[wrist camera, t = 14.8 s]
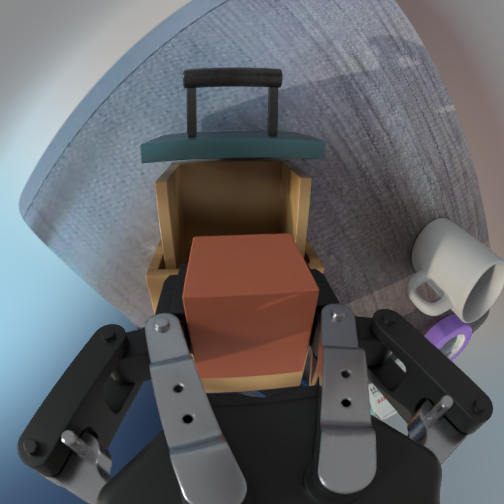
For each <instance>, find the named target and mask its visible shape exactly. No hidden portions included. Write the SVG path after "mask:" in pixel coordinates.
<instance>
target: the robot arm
mask: <svg viewBox="0 0 504 504" xmlns="http://www.w3.org/2000/svg"><path fill="white" fill-rule="evenodd" d="M304 260H305V259H304ZM305 262H306V264H307V266H308V268H309V270H310V272H311V274H312V276H313V278H314V280H315V282H316V284H317V286H318V288H319V295H318V300H317V306H316V311H315V316H314V321H313V326H312V331H311V336H310V341H309V345H308V347H309V346H311V347H312V350H313V351H312V355H311V366H310V379H309V386H306V387H299V388H292V389H289V390H286V391H283V392H280V393H277V394H274V395H271V396H268V397H265V398H259V397H251V396H244V395H237V394H214V395H213V394H212V395H206V392H205V390H204V387H203V384H202V382H201V379H200V376H199V374H198V371H197V368H196V365H195V363H194V360H193V357H192V355H190V354H193V352H192V347H191V342H190V337H189V332H188V327H187V321H186V316H185V310H184V305H183V299H182V295H183V290H184V284H185V278H186V273H187V267H188V264H180V268H179V272H178V275H169V276H168V278H167V279H166V280H165V281H164V283H163V286H162V290H161V294H160V297H159V301H158V305H157V309H156V312H155V315H154V316H152V317H150V318H149V319H148V320H147V321H146V323H145V327H144V328H142V329H139V330H136V331H131V332H127V333H125V330H124V328H122V327H121V326H119V325H116V324H109V325H105V326H103V327H101V328H100V329H98V330H97V331H96V332H95V333H94V335H93V336H92V337H91V339H90V340H89V341H88V342H87V344H86V345H85V346H84V347H83V349H82V350H81V351H80V352H79V354H78V355H77V356H76V358H75V359H74V360H73V362H72V363H71V364H70V366H69V367H68V368H67V370H66V371H65V372H64V374H63V375H62V376H61V378H60V379H59V380H58V382H57V383H56V385H55V386H54V387H53V389H52V390H51V392H50V393H49V395H48V396H47V397H46V399H45V400H44V402H43V403H42V405H41V406H40V407H39V409H38V410H37V412H36V413H35V415H34V416H33V418H32V419H31V421H30V422H29V424H28V426H27V427H26V429H25V430H24V432H23V433H22V435H21V437H20V438H19V441H18V445H17V450H18V455H19V457H20V459H21V460H22V461H23V462H24V463H25V464H26V465H28V466H29V467H31V468H32V469H34V470H35V471H37V472H38V473H39V474H40V475H41V476H43V477H45V478H46V479H48V480H50V481H52V482H54V483H55V484H57V485H59V486H61V487H64V488H65V489H67V490H68V491H70V492H72V493H73V494H75V495H76V496H78V497H79V498H81V499H83V500H84V501H86V502H87V503H89V504H440V487H441V479H442V469H441V464H442V463H443V462H444V461H445V460H446V459H447V458H448V457H449V456H450V455H451V454H452V453H453V452H454V450H455V449H456V448H457V447H458V446H459V445H460V444H461V443H462V442H463V441H465V440H466V439H467V438H468V437H469V436H471V435H472V434H473V433H474V432H475V431H476V430H477V429H479V428H480V427H481V426H482V425H483V424H484V423H485V422H486V421H487V420H488V419H489V418H490V417H491V415H492V412H493V406H492V402H491V400H490V398H489V397H488V396H487V395H486V394H485V393H484V392H483V391H482V390H481V389H480V388H479V387H478V386H477V385H476V384H475V383H474V382H473V381H472V380H471V379H470V378H469V377H468V376H467V375H466V374H465V373H464V372H462V371H461V370H460V369H459V368H458V367H457V366H456V365H455V364H454V363H453V362H452V361H451V360H450V359H449V358H448V357H447V356H445V355H444V354H443V353H442V352H441V351H440V350H439V349H438V348H437V347H436V346H434V345H433V344H432V343H431V342H430V341H429V340H428V339H427V338H426V337H424V336H423V335H422V334H421V333H420V332H419V331H418V330H416V329H415V328H414V327H413V326H412V325H411V324H410V323H408V322H407V321H406V320H405V319H404V318H403V317H402V316H400V315H399V314H398V313H396V312H395V311H392V310H389V309H381V310H378V311H376V312H375V313H374V316H373V318H365V317H357V316H355V315H354V313H353V311H352V310H351V309H350V308H349V307H347V306H345V305H342V304H340V303H339V301H338V299H337V297H336V296H335V294H334V292H333V290H332V288H331V287H330V285H329V283H328V282H327V280H326V278H325V276H324V274H323V273H321V272H320V271H319V270H317V269H310V267H309V265H308V263H307V261H306V260H305ZM391 352H392V353H393V354H394V355H395V356H396V357H397V358H398V359H399V360H400V361H401V362H402V363H403V364H404V366H405V368H406V373H405V372H404V371H403V370H402V369H401V367H400V366H399V365H398V364H397V363H396V362H395V361H394V360H393V359H392V358H391V357H390V354H391ZM150 379H152V384H153V388H154V393H155V397H156V401H157V406H158V410H159V414H160V418H161V422H162V426H163V429H162V430H161V431H160V432H159V433H158V434H157V435H156V436H155V437H154V438H153V439H152V440H151V441H150V442H149V443H148V444H147V445H146V446H145V447H144V448H143V449H142V450H141V451H140V452H139V453H138V454H137V455H136V456H135V457H134V458H133V459H132V460H131V461H130V462H129V463H128V464H127V465H126V466H125V467H124V468H122V469H121V470H120V471H119V472H118V473H117V474H116V475H115V476H114V477H113V478H112V479H111V477H110V469H111V465H112V457H111V454H110V452H109V451H108V447H109V445H110V443H111V441H112V439H113V437H114V436H115V434H116V432H117V430H118V428H119V426H120V424H121V422H122V420H123V418H124V417H125V415H126V413H127V411H128V409H129V407H130V406H131V404H132V402H133V400H134V398H135V396H136V395H137V393H138V391H139V389H140V387H141V385H142V384H143V381H146V380H150ZM368 379H369V380H370V381H371V383H372V384H373V385H374V386H375V387H376V388H377V389H378V390H379V392H380V393H381V394H382V395H383V396H384V397H385V398H386V400H387V401H388V402H389V403H390V404H391V405H392V406H393V408H394V409H395V410H396V411H397V412H398V413H399V414H400V416H401V417H402V418H403V419H404V420H405V421H406V422H407V424H408V427H407V428H408V437H407V436H406V435H404V434H402V433H401V432H399V431H397V430H396V429H394V428H392V427H391V426H389V425H387V424H386V423H384V422H382V421H381V420H379V419H378V418H376V417H374V416H373V415H371V412H370V398H369V386H368Z"/></svg>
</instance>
